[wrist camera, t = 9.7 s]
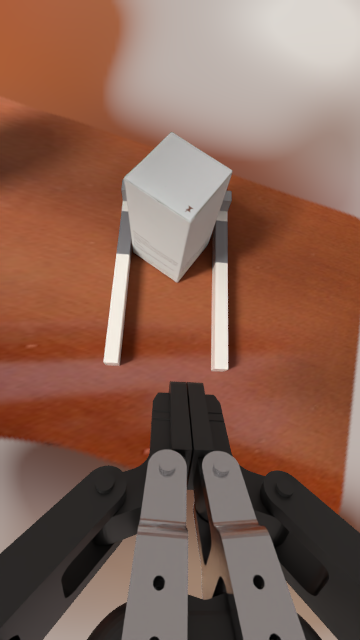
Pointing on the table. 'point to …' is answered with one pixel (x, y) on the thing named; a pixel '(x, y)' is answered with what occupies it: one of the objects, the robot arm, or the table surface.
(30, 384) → the table surface
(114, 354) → the guide channel
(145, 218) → the supplement box
